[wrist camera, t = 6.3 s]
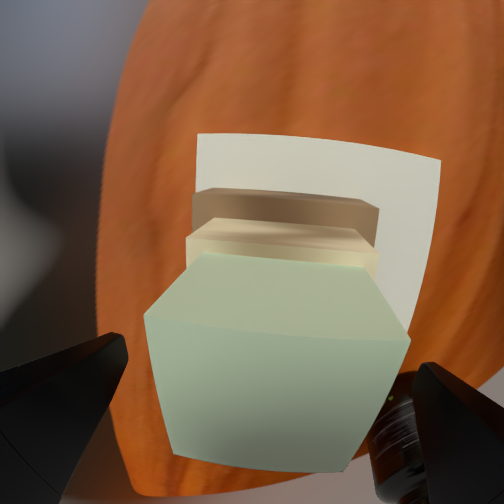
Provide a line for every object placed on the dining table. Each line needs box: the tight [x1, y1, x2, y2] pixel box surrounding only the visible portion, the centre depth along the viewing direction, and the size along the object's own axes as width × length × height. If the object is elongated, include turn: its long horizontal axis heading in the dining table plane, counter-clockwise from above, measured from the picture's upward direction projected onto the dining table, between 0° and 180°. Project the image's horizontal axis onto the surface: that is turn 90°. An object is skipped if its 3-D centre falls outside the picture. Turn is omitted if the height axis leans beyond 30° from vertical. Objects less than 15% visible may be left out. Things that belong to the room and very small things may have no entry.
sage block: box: [144, 252, 411, 473], centre depth 7 cm, size 5×5×4 cm
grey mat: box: [196, 134, 441, 333], centre depth 15 cm, size 14×12×1 cm
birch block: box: [186, 218, 379, 281], centre depth 11 cm, size 6×6×4 cm
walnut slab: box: [192, 188, 379, 248], centre depth 14 cm, size 8×8×4 cm
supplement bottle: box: [366, 371, 430, 504], centre depth 13 cm, size 7×7×12 cm
